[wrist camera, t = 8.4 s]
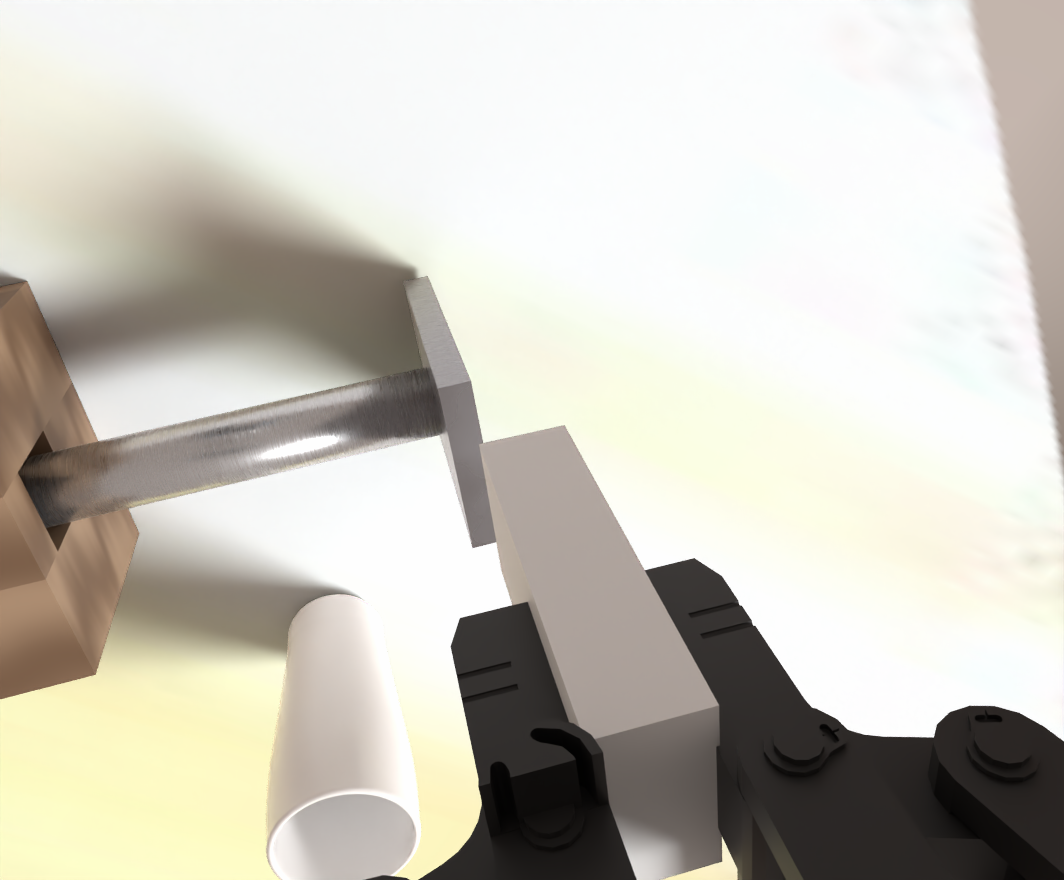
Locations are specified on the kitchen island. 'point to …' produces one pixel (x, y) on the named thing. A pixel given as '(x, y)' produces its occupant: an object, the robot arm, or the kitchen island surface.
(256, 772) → the kitchen island surface
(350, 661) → the drinking glass
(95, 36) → the kitchen island surface
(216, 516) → the kitchen island surface
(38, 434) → the bearing block
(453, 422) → the shaft
